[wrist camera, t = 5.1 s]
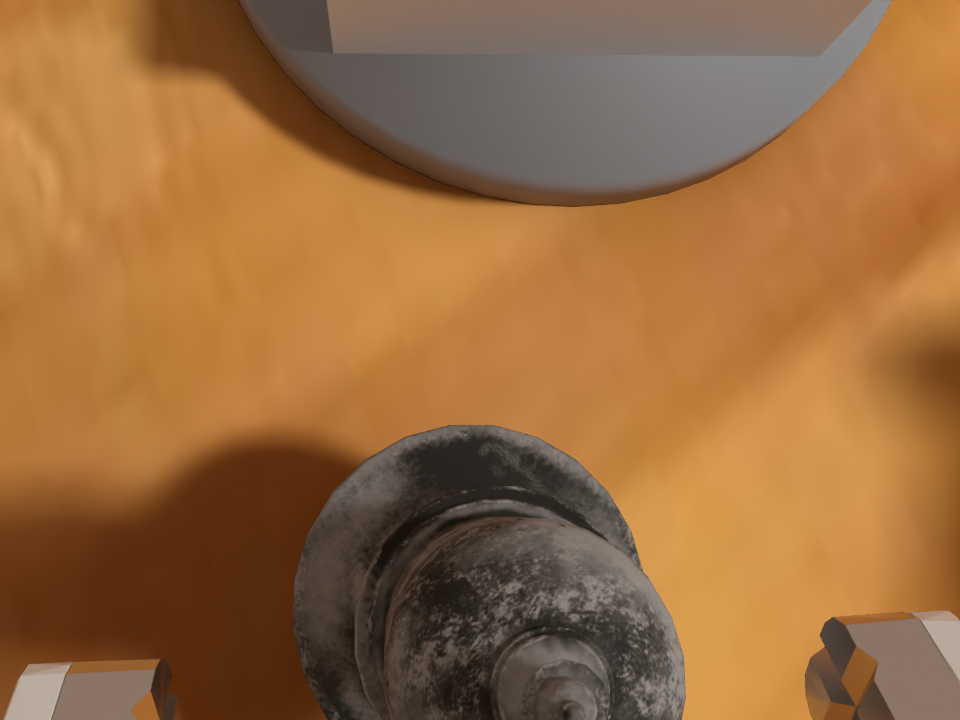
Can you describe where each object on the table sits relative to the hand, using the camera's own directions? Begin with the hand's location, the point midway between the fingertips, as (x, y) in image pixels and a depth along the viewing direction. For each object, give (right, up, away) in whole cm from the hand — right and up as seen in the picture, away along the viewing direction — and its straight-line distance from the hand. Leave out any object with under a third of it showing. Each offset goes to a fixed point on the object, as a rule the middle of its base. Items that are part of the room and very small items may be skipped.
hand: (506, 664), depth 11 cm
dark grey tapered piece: (-1, -1, +7) cm, 7 cm away
